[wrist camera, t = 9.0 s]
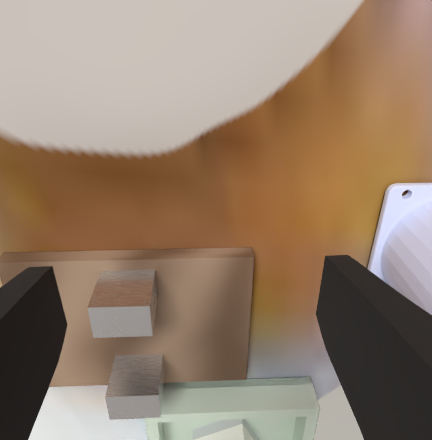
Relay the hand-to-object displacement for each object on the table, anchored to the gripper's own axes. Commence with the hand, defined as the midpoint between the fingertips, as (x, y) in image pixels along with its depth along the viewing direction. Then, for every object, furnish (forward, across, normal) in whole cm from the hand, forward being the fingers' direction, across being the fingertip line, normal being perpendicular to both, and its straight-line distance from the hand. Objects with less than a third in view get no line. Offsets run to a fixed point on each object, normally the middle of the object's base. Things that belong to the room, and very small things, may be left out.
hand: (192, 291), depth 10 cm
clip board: (+10, +4, +10) cm, 15 cm away
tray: (+10, -2, +22) cm, 25 cm away
